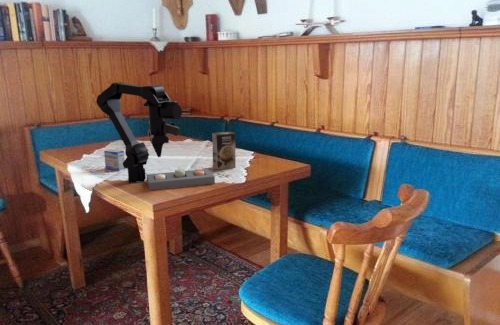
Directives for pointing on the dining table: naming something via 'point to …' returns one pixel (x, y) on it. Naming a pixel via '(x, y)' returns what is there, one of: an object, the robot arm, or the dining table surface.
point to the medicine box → (114, 159)
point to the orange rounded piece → (199, 173)
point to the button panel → (180, 180)
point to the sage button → (179, 173)
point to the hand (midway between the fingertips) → (159, 157)
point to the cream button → (159, 176)
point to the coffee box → (223, 150)
